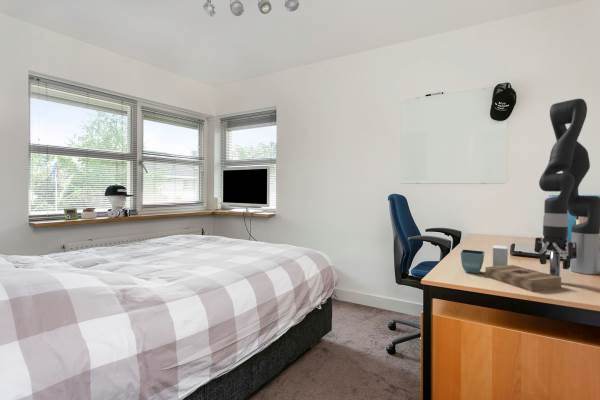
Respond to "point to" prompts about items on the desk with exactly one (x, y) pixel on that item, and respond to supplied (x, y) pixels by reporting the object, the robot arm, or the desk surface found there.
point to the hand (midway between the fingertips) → (554, 266)
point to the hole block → (523, 277)
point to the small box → (500, 255)
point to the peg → (554, 263)
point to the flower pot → (472, 260)
